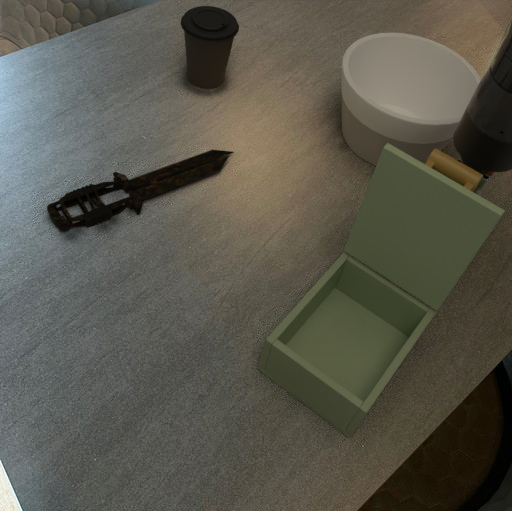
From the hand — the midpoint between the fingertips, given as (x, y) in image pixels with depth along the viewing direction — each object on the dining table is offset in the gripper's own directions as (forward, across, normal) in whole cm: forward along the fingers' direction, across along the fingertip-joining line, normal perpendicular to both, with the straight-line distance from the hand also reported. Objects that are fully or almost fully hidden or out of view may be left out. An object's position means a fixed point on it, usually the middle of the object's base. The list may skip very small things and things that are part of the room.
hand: (443, 222), depth 77 cm
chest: (+3, -22, 0) cm, 22 cm away
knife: (+4, -18, +32) cm, 37 cm away
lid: (-11, -15, +1) cm, 19 cm away
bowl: (+4, +13, +14) cm, 19 cm away
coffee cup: (+4, +4, +41) cm, 41 cm away
